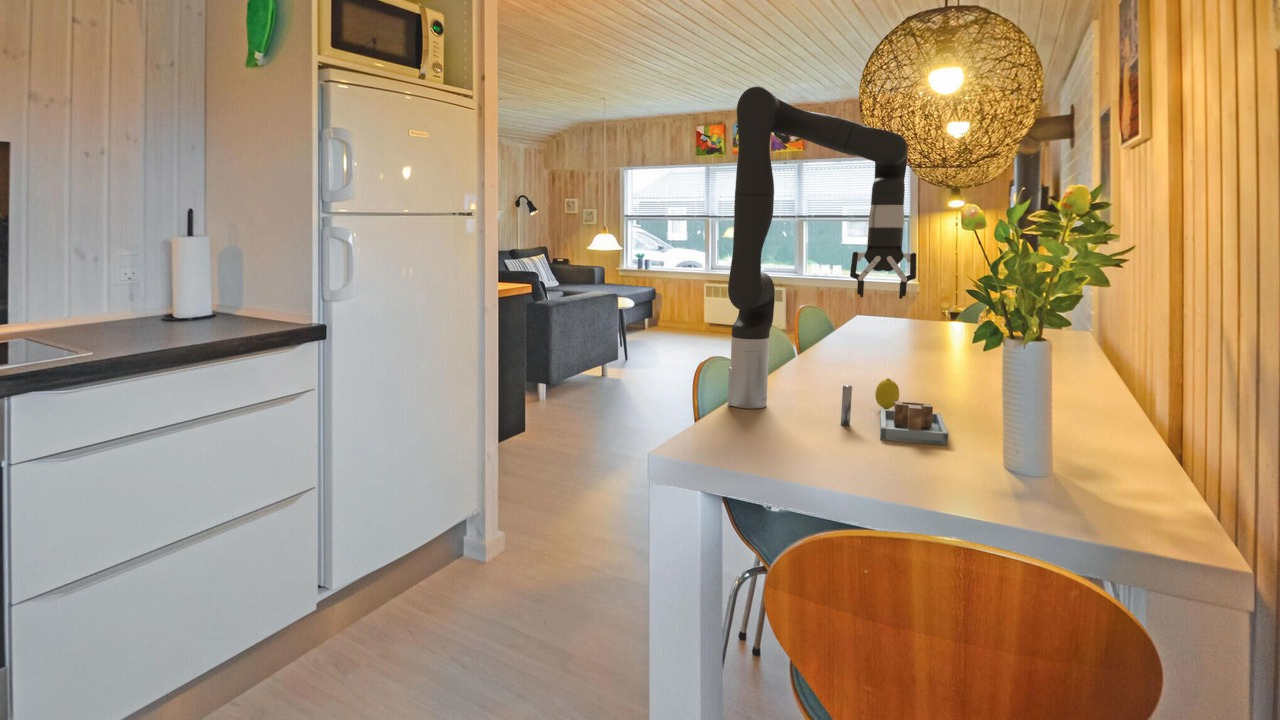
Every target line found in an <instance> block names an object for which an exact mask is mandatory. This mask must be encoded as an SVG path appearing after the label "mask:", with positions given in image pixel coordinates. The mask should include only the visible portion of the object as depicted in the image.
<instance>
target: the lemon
mask: <svg viewBox="0 0 1280 720" xmlns="http://www.w3.org/2000/svg"><path fill="white" fill-rule="evenodd" d="M875 401H876V403H877V404H878V405H879V406H880V407H881V408H882V409H888V410H890V409H892V408H894V405H895V401H900V388H899V386H898V384H897V383H896V382H895V381H894V380H892V379H891V378H889V377H888V378H886V379H884V380H882V381H880V382H878V384H877V386H876V389H875Z"/></svg>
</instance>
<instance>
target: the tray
mask: <svg viewBox="0 0 1280 720" xmlns="http://www.w3.org/2000/svg"><path fill="white" fill-rule="evenodd" d="M879 413H880V416H879V436H880V437H879V438H880V439H879V440H880V441H889V440H891V441H892V442H901V441H902V442H903V443H912V442H913V444H925V445H936V446H937V445H938V446H948V440H949V439H948V438H949V431H948V430H947V427H946V424H945V422H944V419H943V416H942V413H936V412H933V413H932V427H931V428H927V427H921V430H911V429H908V428H907V426H903V425H894V421H893V420H894V409H884V408H880V412H879Z"/></svg>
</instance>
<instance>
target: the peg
mask: <svg viewBox="0 0 1280 720" xmlns="http://www.w3.org/2000/svg"><path fill="white" fill-rule="evenodd" d="M852 394H853V385H850V384H843V385H842V395H841V398H842V399H841V413H840V414H841V416H840V426H842V427H850V426H851V413H852V412H851V411H852V398H853V397H852Z"/></svg>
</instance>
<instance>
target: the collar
mask: <svg viewBox="0 0 1280 720" xmlns="http://www.w3.org/2000/svg"><path fill="white" fill-rule="evenodd" d="M933 407H934V406H933V405H932V404H931V403H927V402H926V403H924V402H910V401H900V400H898V401H895V405H894V407H893V410H894V420H893V421H894V425H903V426H907V428H908V429H911V430H921V427H927V428H931V427H932V413H934V412H933V409H934V408H933Z"/></svg>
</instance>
